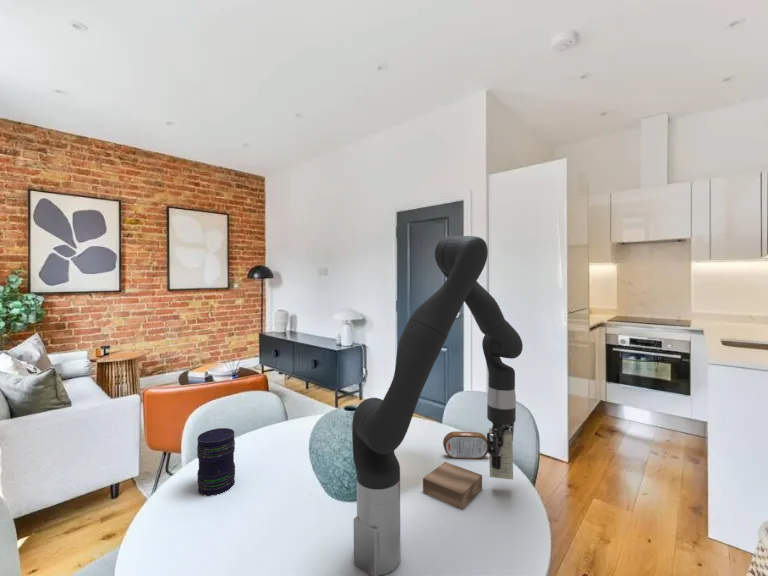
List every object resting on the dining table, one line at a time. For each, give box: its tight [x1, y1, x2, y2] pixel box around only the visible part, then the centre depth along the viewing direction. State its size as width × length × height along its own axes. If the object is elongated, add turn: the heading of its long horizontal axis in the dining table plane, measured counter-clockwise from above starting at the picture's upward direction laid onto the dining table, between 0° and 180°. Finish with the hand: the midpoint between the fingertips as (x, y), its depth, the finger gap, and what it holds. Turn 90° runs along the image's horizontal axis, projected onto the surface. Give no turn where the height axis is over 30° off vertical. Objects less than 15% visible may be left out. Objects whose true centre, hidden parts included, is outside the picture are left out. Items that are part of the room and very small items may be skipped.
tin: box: [442, 430, 488, 460], centre depth 120 cm, size 15×3×8 cm, turn 86°
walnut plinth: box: [422, 461, 483, 510], centre depth 101 cm, size 12×12×4 cm
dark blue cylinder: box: [196, 427, 236, 497], centre depth 103 cm, size 10×10×15 cm
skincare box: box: [488, 427, 514, 481], centre depth 100 cm, size 6×4×12 cm
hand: (500, 463), depth 100 cm, fingers closed on skincare box, 5 cm apart
